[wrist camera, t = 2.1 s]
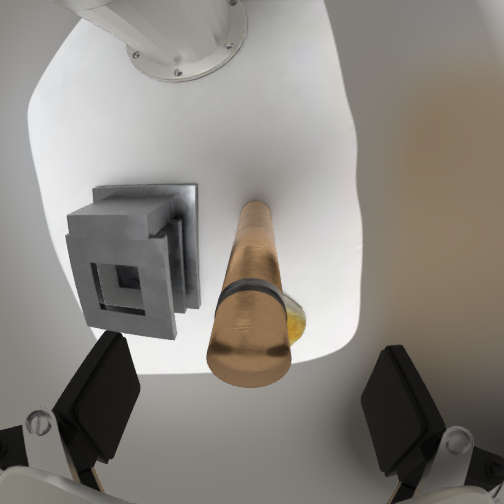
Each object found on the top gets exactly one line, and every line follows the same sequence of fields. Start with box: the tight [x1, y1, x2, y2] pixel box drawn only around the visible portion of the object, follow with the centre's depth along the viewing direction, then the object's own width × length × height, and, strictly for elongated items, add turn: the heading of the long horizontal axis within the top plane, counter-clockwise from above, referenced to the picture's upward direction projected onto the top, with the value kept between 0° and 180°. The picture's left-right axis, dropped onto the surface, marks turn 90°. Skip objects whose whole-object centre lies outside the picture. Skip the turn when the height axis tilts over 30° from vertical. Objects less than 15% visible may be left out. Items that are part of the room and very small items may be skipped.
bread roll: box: [283, 295, 306, 347], centre depth 31 cm, size 8×9×4 cm
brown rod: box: [207, 201, 291, 388], centre depth 18 cm, size 3×3×20 cm
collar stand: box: [65, 184, 201, 340], centre depth 25 cm, size 14×12×8 cm
